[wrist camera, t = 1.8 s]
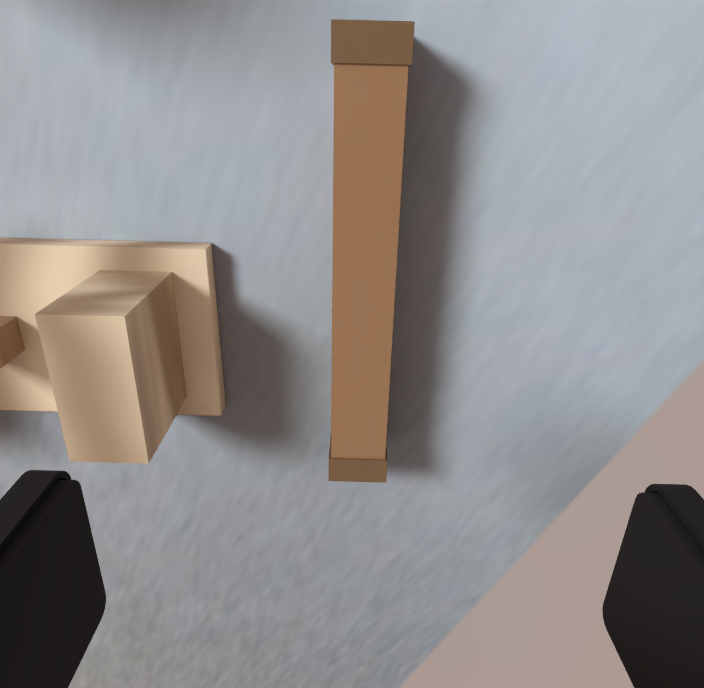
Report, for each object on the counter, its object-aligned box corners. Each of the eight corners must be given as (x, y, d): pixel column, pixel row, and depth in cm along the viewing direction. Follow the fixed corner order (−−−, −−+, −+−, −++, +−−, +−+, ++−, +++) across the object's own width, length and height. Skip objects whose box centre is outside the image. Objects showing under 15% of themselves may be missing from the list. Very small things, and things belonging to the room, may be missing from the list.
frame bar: (335, 30, 20) (331, 19, 17) (406, 31, 20) (414, 21, 17) (331, 440, 27) (328, 480, 24) (383, 442, 27) (386, 482, 24)
